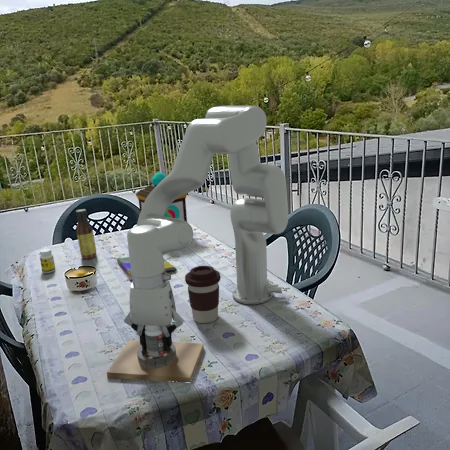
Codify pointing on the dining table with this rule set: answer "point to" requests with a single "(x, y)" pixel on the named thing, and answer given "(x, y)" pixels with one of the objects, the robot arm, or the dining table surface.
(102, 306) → the dining table surface
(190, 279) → the coffee cup
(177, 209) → the decorative lantern
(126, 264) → the dish towel
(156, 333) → the pill bottle
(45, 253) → the supplement bottle
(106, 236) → the dining table surface
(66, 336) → the dining table surface
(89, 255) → the sauce bottle
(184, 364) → the ring jig
